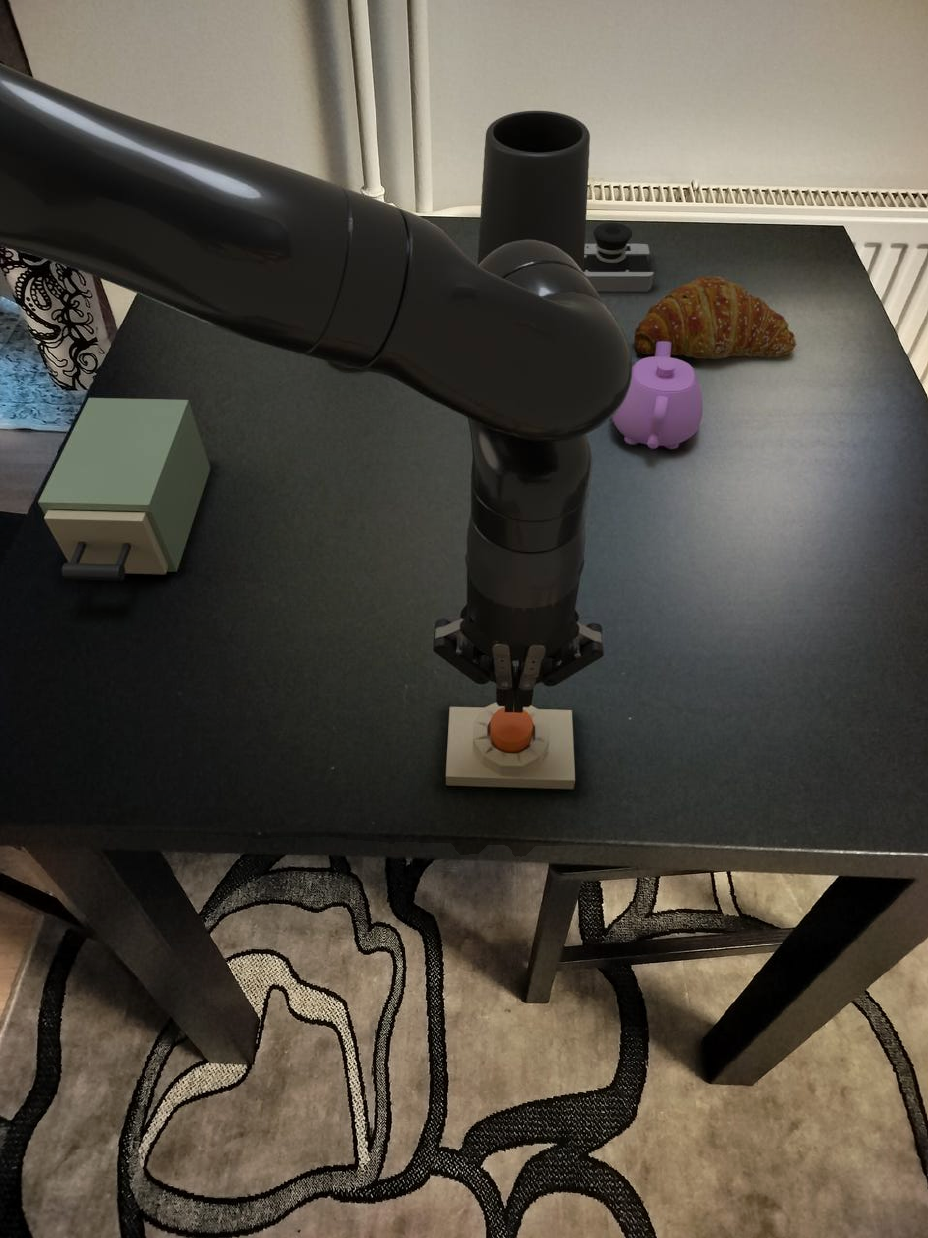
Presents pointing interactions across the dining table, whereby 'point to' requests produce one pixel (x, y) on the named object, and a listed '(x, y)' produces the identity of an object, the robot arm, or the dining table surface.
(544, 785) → the panel
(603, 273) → the camera
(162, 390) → the dining table surface
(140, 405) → the fryer
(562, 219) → the vase
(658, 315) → the pastry
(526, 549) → the robot arm
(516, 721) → the button
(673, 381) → the teapot
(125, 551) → the fryer drawer
